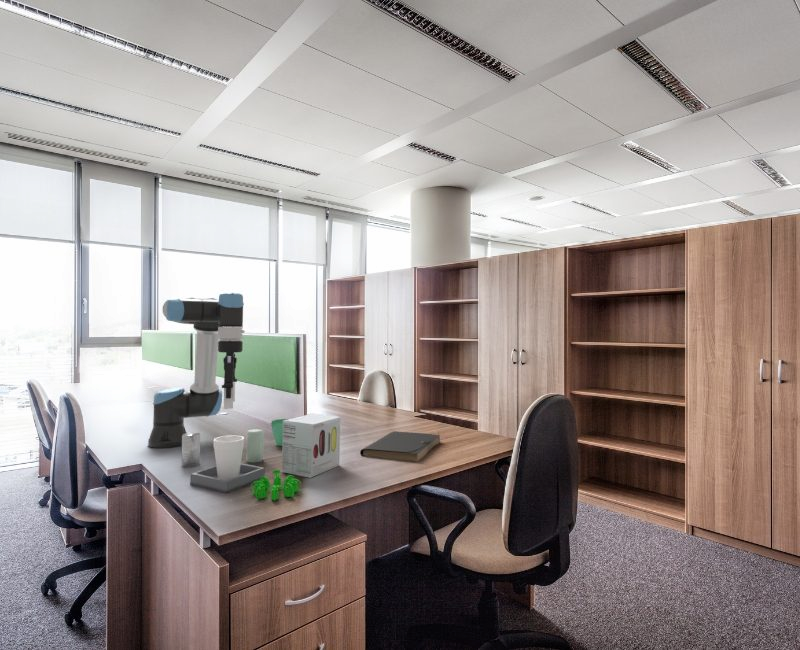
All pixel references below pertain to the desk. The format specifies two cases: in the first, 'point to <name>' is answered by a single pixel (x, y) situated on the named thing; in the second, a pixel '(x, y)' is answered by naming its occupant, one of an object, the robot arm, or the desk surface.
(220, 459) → the foam cup
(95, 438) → the desk surface
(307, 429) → the supplement box
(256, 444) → the sage canister
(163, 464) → the desk surface
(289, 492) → the green leafy sprig
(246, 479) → the tray
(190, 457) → the steel canister
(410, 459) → the dark grey book
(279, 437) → the mug
